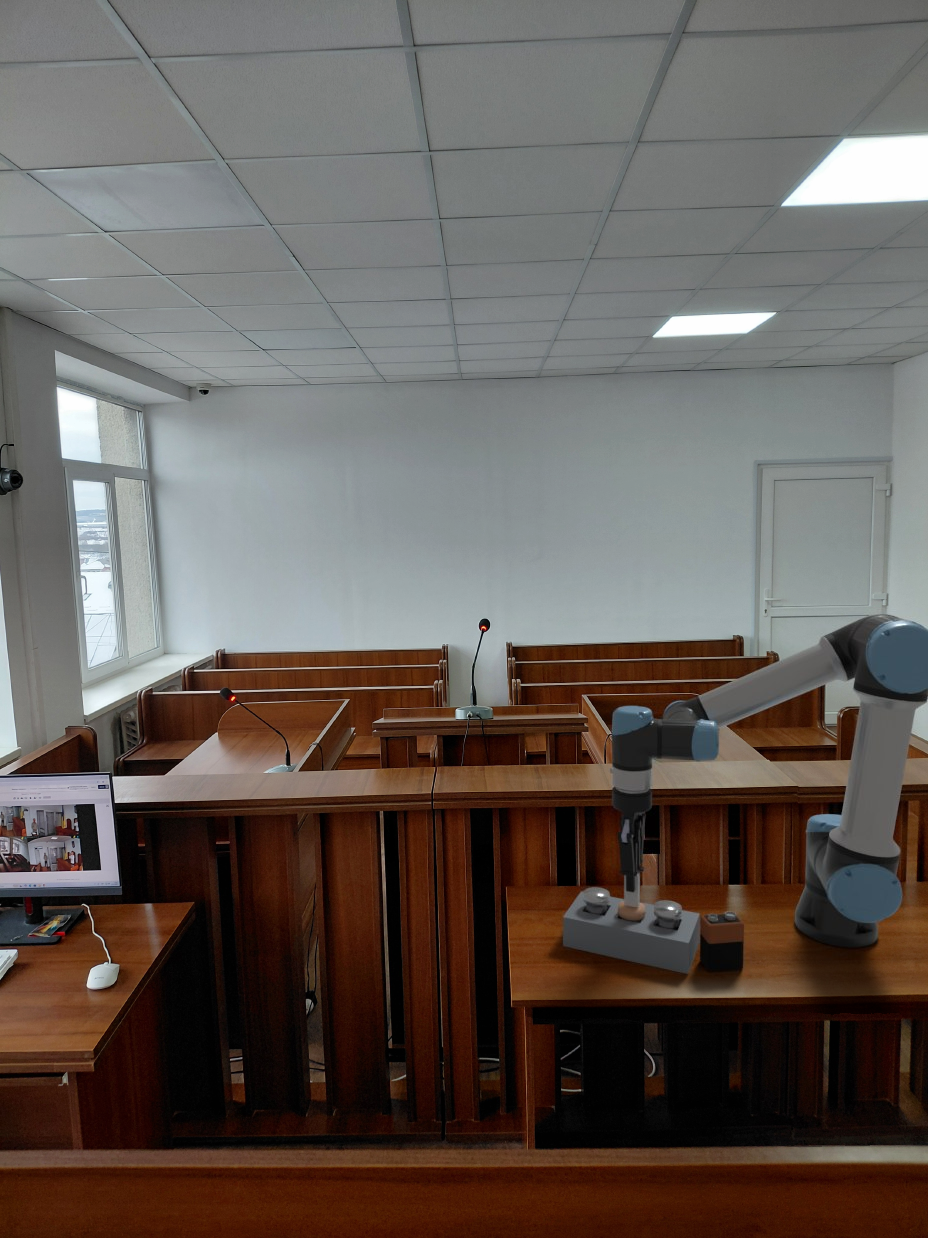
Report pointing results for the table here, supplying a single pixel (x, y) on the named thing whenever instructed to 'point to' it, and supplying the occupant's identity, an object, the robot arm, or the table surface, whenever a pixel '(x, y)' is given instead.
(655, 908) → the plunger
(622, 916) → the plunger mid
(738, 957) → the battery
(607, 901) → the plunger
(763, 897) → the table surface
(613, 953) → the console
